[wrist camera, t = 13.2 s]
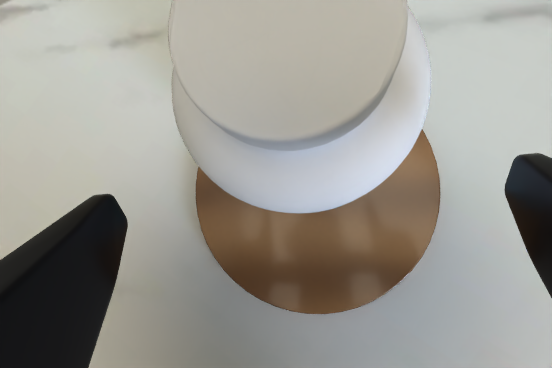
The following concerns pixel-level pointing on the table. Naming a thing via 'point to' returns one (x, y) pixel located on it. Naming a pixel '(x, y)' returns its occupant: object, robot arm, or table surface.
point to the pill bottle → (298, 95)
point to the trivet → (326, 240)
